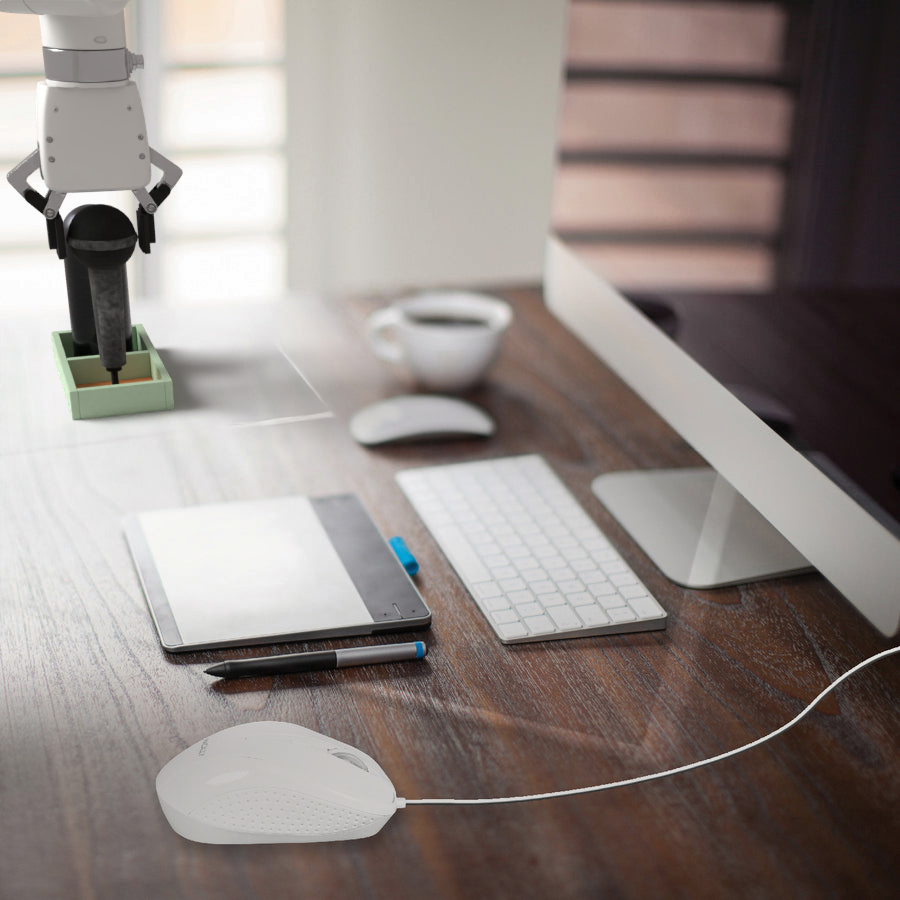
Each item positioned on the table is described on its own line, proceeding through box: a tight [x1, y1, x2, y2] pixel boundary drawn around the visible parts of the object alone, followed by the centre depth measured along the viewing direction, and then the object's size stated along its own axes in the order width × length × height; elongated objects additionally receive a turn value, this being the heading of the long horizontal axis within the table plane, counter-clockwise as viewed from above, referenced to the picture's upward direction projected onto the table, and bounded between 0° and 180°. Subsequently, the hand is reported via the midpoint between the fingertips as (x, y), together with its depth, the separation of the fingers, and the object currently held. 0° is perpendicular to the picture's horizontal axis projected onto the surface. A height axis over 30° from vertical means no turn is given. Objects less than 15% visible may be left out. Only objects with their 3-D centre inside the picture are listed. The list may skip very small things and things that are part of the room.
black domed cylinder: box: [63, 203, 134, 357], centre depth 124 cm, size 6×6×18 cm
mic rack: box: [50, 323, 175, 421], centre depth 123 cm, size 10×19×4 cm, turn 23°
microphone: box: [66, 203, 138, 385], centre depth 116 cm, size 7×7×20 cm
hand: (103, 252), depth 114 cm, fingers open, 7 cm apart
